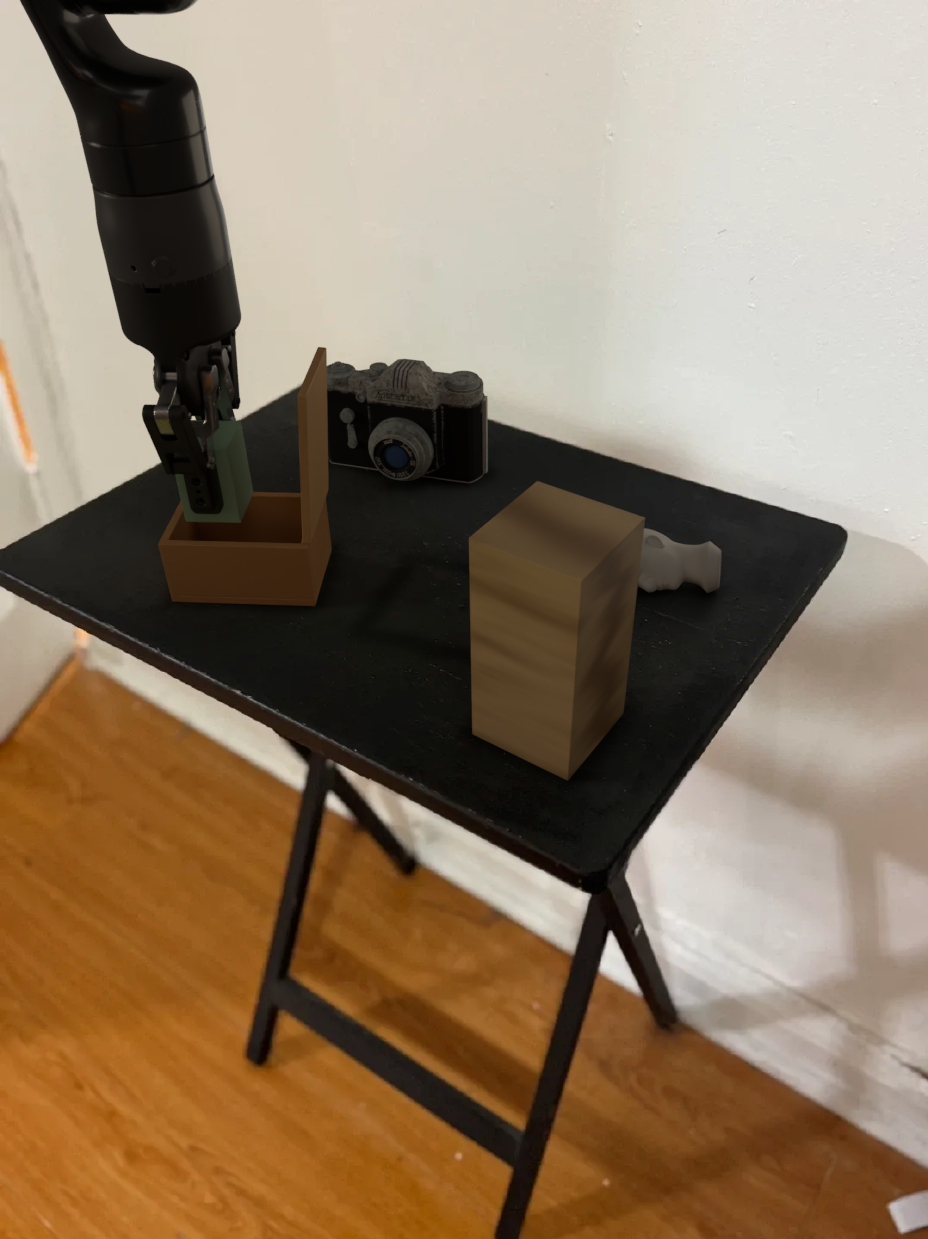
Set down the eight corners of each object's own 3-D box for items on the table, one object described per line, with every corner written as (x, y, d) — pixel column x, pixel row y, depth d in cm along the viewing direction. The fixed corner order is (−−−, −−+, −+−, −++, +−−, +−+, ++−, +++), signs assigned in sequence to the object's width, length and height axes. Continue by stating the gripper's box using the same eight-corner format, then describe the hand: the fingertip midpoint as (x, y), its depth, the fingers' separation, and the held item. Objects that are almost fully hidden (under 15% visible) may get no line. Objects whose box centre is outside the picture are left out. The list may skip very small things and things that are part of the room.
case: (172, 602, 76) (157, 544, 73) (198, 546, 81) (186, 490, 78) (315, 606, 75) (307, 548, 72) (331, 549, 81) (325, 493, 77)
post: (568, 781, 62) (581, 581, 52) (471, 734, 65) (468, 537, 55) (623, 713, 66) (645, 517, 56) (531, 672, 69) (537, 480, 60)
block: (185, 522, 73) (168, 448, 69) (200, 492, 76) (185, 419, 73) (240, 523, 73) (226, 449, 69) (253, 493, 76) (241, 420, 72)
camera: (307, 480, 89) (292, 373, 83) (336, 442, 94) (325, 339, 88) (470, 504, 85) (469, 394, 79) (492, 464, 90) (492, 357, 84)
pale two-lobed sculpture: (604, 595, 77) (631, 545, 80) (707, 625, 74) (731, 572, 76) (600, 559, 74) (627, 508, 76) (707, 589, 71) (732, 535, 73)
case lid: (297, 395, 64) (306, 396, 64) (317, 346, 70) (326, 347, 70) (302, 543, 72) (310, 544, 72) (320, 488, 77) (328, 489, 77)
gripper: (145, 217, 69) (193, 443, 80) (66, 300, 58) (134, 549, 69) (255, 218, 68) (288, 445, 79) (197, 301, 57) (244, 552, 68)
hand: (216, 492), depth 74 cm, fingers closed on block, 4 cm apart
